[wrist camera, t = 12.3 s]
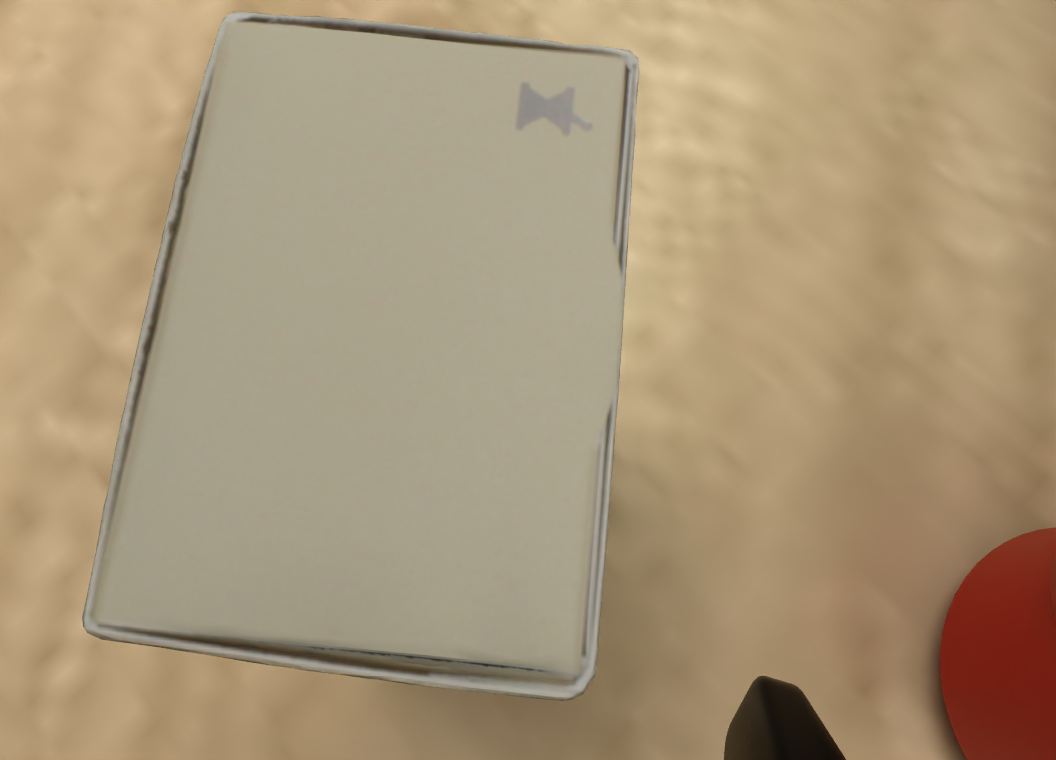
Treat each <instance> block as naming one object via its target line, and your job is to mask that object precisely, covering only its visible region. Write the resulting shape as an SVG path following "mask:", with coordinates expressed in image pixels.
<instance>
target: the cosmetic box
mask: <svg viewBox="0 0 1056 760" xmlns="http://www.w3.org/2000/svg"><path fill="white" fill-rule="evenodd" d="M638 81H639V62H638V57H637V56H635V55H634V54H633V53H632V52H631V51H629V50H623V49H617V48H610V47H601V46H587V45H572V44H563V43H558V42H553V41H547V40H540V39H527V38H518V37H510V36H502V35H495V34H487V33H477V32H467V31H455V30H446V29H438V28H429V27H422V26H414V25H405V24H394V23H383V22H373V21H363V20H354V19H345V18H329V17H320V16H287V15H270V14H263V13H254V12H232V13H231V14H229V15H227V16H226V17H225V18H224V19H223V21H222V23H221V26H220V28H219V30H218V34H217V37H216V41H215V44H214V48H213V51H212V55H211V57H210V60H209V62H208V65H207V68H206V70H205V73H204V78H203V82H202V86H201V90H200V93H199V97H198V100H197V104H196V107H195V110H194V113H193V116H192V119H191V124H190V128H189V133H188V136H187V139H186V143H185V146H184V150H183V154H182V158H181V163H180V167H179V171H178V173H177V175H176V179H175V183H174V188H173V193H172V198H171V202H170V206H169V210H168V215H167V219H166V223H165V227H164V231H163V236H162V241H161V247H160V250H159V254H158V258H157V261H156V265H155V269H154V275H153V280H152V284H151V288H150V292H149V297H148V301H147V306H146V310H145V315H144V319H143V324H142V328H141V333H140V337H139V342H138V346H137V351H136V355H135V360H134V364H133V369H132V374H131V378H130V383H129V387H128V393H127V399H126V404H125V408H124V412H123V416H122V420H121V425H120V429H119V434H118V439H117V443H116V448H115V454H114V459H113V465H112V471H111V476H110V482H109V488H108V492H107V496H106V500H105V504H104V508H103V514H102V520H101V526H100V532H99V538H98V544H97V549H96V554H95V559H94V564H93V569H92V574H91V579H90V584H89V588H88V593H87V598H86V603H85V608H84V612H83V617H82V618H83V627H84V628H85V630H86V631H87V633H89V634H91V635H93V636H95V637H98V638H100V639H102V640H110V641H117V642H124V643H132V644H139V645H147V646H154V647H161V648H167V649H173V650H179V651H186V652H192V653H199V654H206V655H212V656H218V657H224V658H229V659H235V660H241V661H247V662H253V663H259V664H266V665H272V666H280V667H289V668H295V669H300V670H307V671H315V672H324V673H329V674H340V675H347V676H354V677H361V678H368V679H379V680H386V681H392V682H398V683H405V684H412V685H421V686H429V687H439V688H448V689H458V690H467V691H476V692H486V693H494V694H503V695H511V696H520V697H529V698H537V699H548V700H560V701H564V700H570V699H573V698H575V697H577V696H579V695H581V694H583V692H584V691H585V689H586V688H587V687H588V685H589V684H590V682H591V681H592V679H593V678H594V676H595V671H596V667H597V658H598V641H599V627H600V615H601V603H602V592H603V581H604V570H605V558H606V545H607V532H608V519H609V506H610V493H611V481H612V470H613V458H614V440H615V426H616V415H617V403H618V390H619V376H620V361H621V346H622V331H623V313H624V297H625V281H626V266H627V249H628V231H629V216H630V203H631V188H632V170H633V158H634V145H635V117H636V103H637V92H638Z"/></svg>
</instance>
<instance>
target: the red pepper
mask: <svg viewBox="0 0 1056 760" xmlns="http://www.w3.org/2000/svg"><path fill="white" fill-rule="evenodd" d="M940 675H941V682H942V690H943V697H944V701H945V705H946V709H947V713H948V717H949V720H950V722H951V725H952V728H953V730H954V733H955V736H956V738H957V741H958V743H959V745H960V746H961V748H962V750H963V752H964V754H965V756H966V758H967V760H1056V528H1048V529H1041V530H1037V531H1033V532H1029V533H1026V534H1022V535H1020V536H1018V537H1016V538H1013V539H1011V540H1009V541H1007V542H1005V543H1003V544H1002V545H1000V546H999V547H997V548H996V549H994V550H992V551H991V552H990V553H989V554H987V555H986V556H985V557H984V558H983V559H982V560H981V561H980V562H979V563H977V564H976V566H975V567H974V568H973V569H972V570H971V572H970V573H969V574H968V575H967V577H966V578H965V579H964V581H963V582H962V584H961V586H960V588H959V589H958V591H957V593H956V594H955V596H954V599H953V601H952V604H951V606H950V608H949V611H948V614H947V617H946V621H945V625H944V629H943V634H942V642H941V651H940Z"/></svg>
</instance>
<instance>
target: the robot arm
mask: <svg viewBox="0 0 1056 760" xmlns="http://www.w3.org/2000/svg"><path fill="white" fill-rule="evenodd" d="M724 760H846V759H845V757H844V756H843V754H842V752H841V751H840V749H839V748H838V746H837V745H836V743H835V742H834V740H833V738H832V737H831V735H830V734H829V732H828V731H827V729H826V727H825V726H824V724H823V723H822V721H821V720H820V718H819V717H818V715H817V713H816V712H815V710H814V709H813V707H812V706H811V704H810V703H809V701H808V699H807V698H806V696H805V695H804V693H803V692H802V691H801V690H800V689H799V688H798V687H797V686H795V685H793V684H790V683H787V682H784V681H780V680H777V679H774V678H770V677H767V676H760V677H757V678H756V679H755V680H754V681H753V683H752V684H751V686H750V688H749V690H748V692H747V694H746V695H745V697H744V699H743V701H742V703H741V705H740V707H739V709H738V710H737V712H736V714H735V716H734V718H733V720H732V722H731V724H730V726H729V729H728V732H727V736H726V742H725V751H724Z"/></svg>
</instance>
